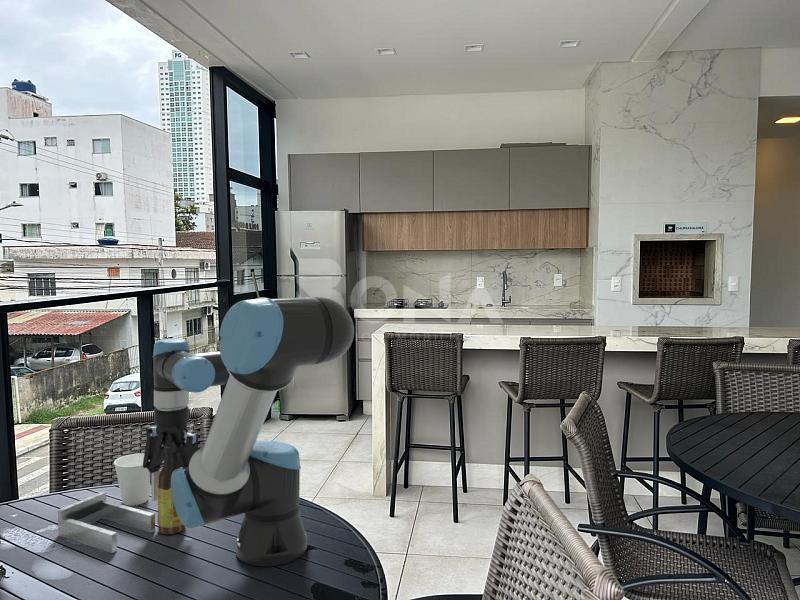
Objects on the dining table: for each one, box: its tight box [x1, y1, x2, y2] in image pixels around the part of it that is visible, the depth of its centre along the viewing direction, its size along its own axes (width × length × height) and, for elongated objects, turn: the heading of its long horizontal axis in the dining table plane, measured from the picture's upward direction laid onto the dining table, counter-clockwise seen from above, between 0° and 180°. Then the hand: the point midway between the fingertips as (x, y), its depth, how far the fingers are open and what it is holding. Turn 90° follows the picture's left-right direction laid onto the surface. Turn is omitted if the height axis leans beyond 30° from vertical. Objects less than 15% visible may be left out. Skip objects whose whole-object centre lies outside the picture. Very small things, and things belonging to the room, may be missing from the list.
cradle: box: [57, 491, 156, 554], centre depth 129 cm, size 17×11×6 cm, turn 66°
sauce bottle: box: [157, 445, 186, 535], centre depth 132 cm, size 6×6×20 cm
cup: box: [113, 452, 152, 507], centre depth 146 cm, size 10×10×11 cm
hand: (172, 502), depth 132 cm, fingers open, 9 cm apart
